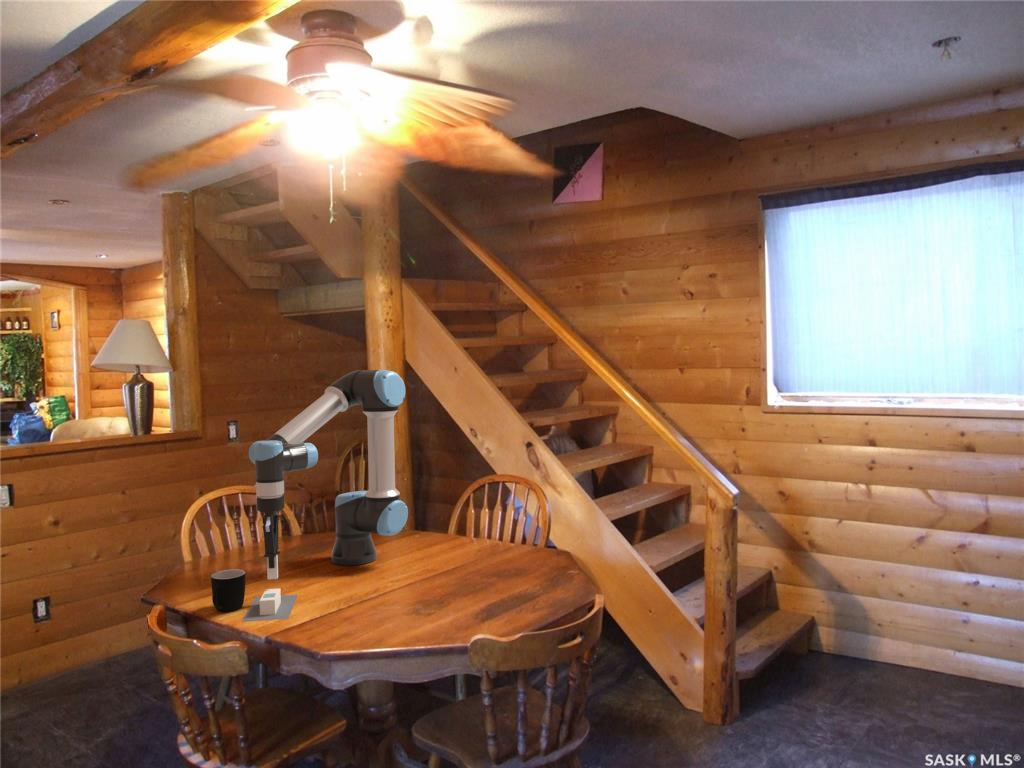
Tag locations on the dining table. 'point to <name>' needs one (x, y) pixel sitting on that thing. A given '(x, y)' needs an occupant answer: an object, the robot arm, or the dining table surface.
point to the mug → (228, 590)
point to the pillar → (270, 601)
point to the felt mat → (281, 613)
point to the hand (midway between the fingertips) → (272, 578)
